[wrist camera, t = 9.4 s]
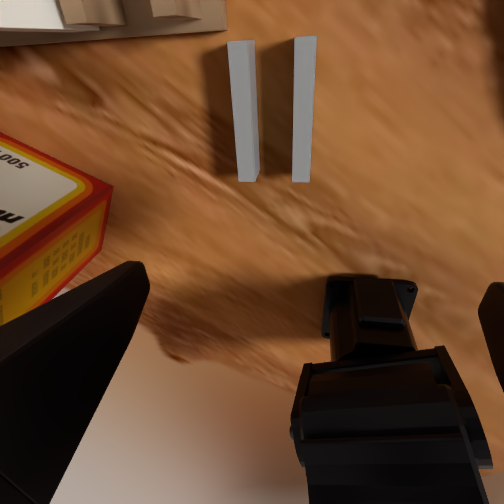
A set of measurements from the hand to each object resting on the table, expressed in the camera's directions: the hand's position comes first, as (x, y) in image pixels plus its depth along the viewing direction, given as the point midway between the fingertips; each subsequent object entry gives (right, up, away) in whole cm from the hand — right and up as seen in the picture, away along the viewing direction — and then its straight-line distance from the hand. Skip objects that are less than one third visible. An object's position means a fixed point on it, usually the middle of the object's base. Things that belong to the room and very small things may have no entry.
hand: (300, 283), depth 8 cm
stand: (0, +9, +10) cm, 13 cm away
